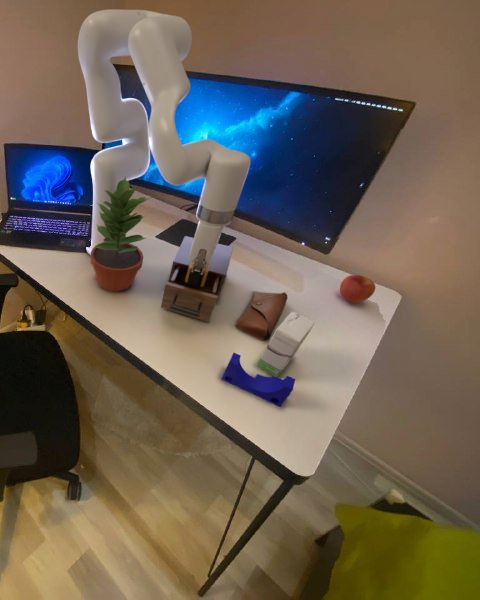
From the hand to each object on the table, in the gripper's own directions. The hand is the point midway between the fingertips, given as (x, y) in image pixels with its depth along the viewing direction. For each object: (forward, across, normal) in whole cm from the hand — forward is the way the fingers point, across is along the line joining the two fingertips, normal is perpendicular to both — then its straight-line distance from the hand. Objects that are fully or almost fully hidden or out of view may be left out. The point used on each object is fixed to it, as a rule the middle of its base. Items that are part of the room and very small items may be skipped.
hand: (195, 278), depth 87 cm
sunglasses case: (+9, -5, +18) cm, 21 cm away
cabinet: (+9, -12, 0) cm, 15 cm away
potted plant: (+9, -2, -22) cm, 24 cm away
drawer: (+8, +1, 0) cm, 8 cm away
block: (0, 0, 0) cm, 0 cm away
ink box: (+10, +10, +22) cm, 26 cm away
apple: (+10, -23, +40) cm, 47 cm away
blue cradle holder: (+10, +19, +18) cm, 28 cm away
